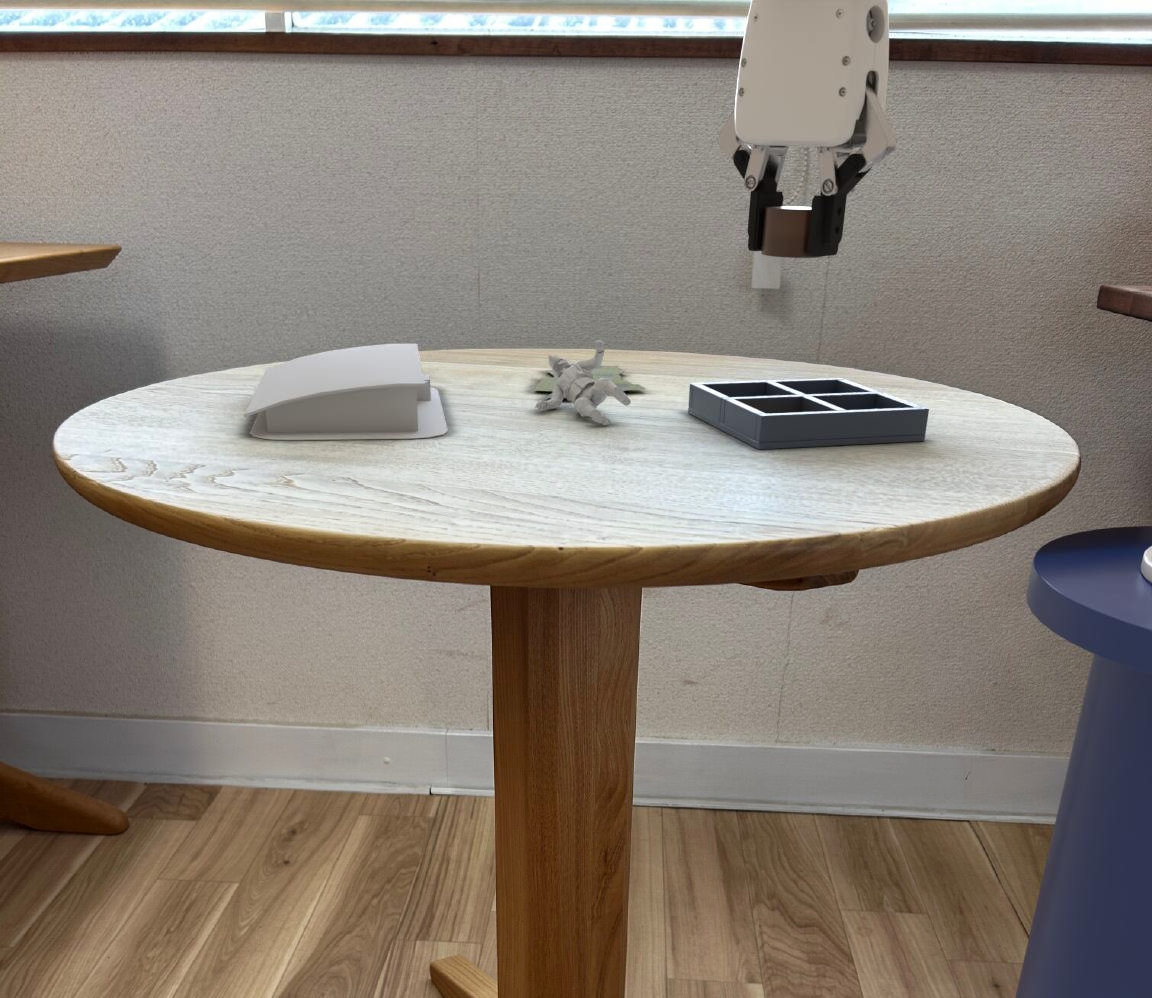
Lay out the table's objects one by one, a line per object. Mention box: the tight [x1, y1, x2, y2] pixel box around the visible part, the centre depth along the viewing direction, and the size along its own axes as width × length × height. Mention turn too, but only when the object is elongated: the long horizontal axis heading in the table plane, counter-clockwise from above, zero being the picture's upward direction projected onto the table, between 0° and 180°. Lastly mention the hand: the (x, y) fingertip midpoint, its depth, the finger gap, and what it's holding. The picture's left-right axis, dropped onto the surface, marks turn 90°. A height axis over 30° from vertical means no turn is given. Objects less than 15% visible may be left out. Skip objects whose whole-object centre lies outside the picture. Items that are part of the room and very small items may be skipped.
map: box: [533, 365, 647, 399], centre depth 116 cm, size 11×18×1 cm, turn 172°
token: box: [760, 205, 823, 259], centre depth 90 cm, size 4×4×3 cm
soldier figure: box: [534, 339, 632, 426], centre depth 103 cm, size 8×5×12 cm
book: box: [244, 343, 449, 441], centre depth 102 cm, size 15×23×4 cm, turn 8°
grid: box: [687, 377, 930, 450], centre depth 100 cm, size 14×14×2 cm
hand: (792, 249), depth 90 cm, fingers closed on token, 4 cm apart
